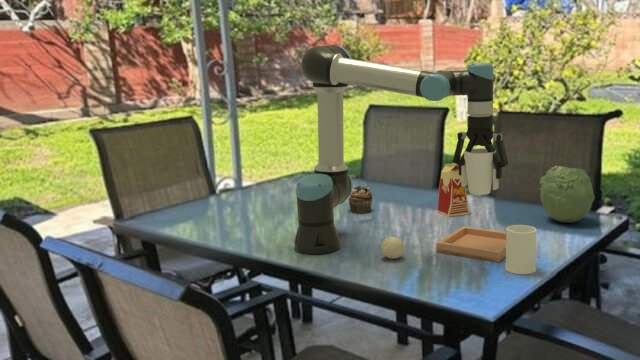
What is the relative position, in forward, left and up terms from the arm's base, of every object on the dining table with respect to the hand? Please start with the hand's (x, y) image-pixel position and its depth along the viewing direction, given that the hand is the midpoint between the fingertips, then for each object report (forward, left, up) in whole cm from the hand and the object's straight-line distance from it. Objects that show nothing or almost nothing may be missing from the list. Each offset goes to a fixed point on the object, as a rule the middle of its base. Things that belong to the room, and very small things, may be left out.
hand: (479, 187), depth 194 cm
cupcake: (+21, +58, -20) cm, 65 cm away
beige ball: (-21, +19, -20) cm, 35 cm away
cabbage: (+40, -15, -20) cm, 47 cm away
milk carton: (+34, +25, -20) cm, 46 cm away
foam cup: (0, 0, -2) cm, 2 cm away
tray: (0, 0, -19) cm, 19 cm away
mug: (-11, -18, -20) cm, 29 cm away
